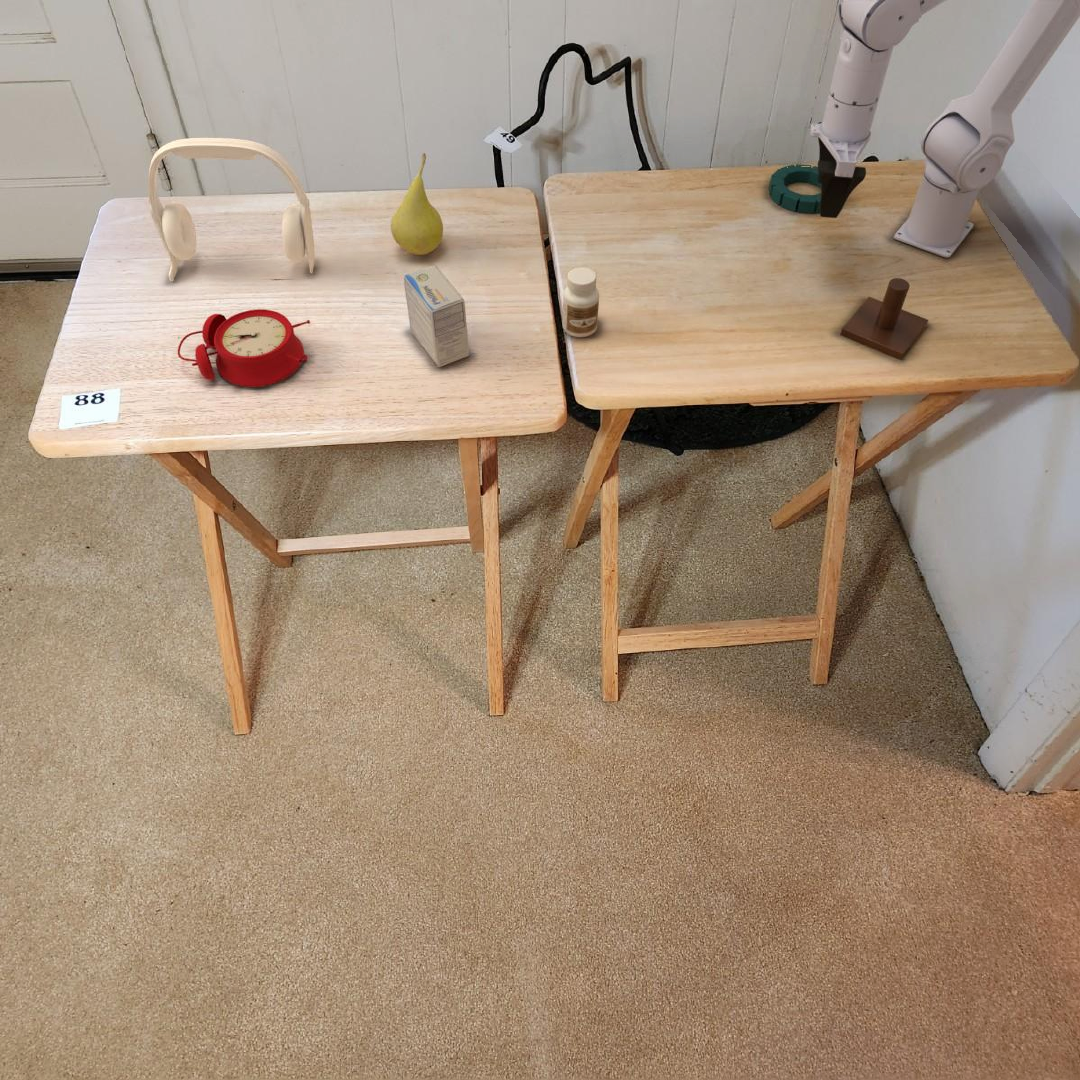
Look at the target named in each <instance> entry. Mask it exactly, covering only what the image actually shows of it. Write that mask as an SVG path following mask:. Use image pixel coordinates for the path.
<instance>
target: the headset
mask: <svg viewBox="0 0 1080 1080" xmlns="http://www.w3.org/2000/svg"><path fill="white" fill-rule="evenodd" d="M170 154H174V155H175V156H177V157H179V158H182V159H201V160H203V159H205V160H207V159H209V160H210V159H211V160H212V159H215V160H235V161H237V160H239V161H250V160H254V159H256V158H257V156H258V155H259V156H260V157H262V158H265V159H266V160H268V161H269V162H271V163H272V164H273V165H274V166H275V167H276V168H277V169H278V170H279V171H280V172H281V173H282V175H283V176H284V177H285V179H286V180H287V182H288V183H289V185H290V187H291V188H292V190H293V192H294V194H295V197H296V198H297V200H298V202H299V205H298V204H296V203H291V204H288V205H287V206H286V207H285V209H284V211H283V215H282V223H281V235H282V236H281V237H282V238H281V239H282V246H283V247H282V248H283V252H284V254H285V257H286V258H287V260H288V261H290V262H291V263H295V264H296V263H300V262H302V261H303V260H304V258H305V256H306V258H307V261H308V265H309V267H308V268H309V273H310V274H313V273H314V266H315V258H316V250H315V241H314V231H313V223H312V222H313V221H312V212H311V207H310V206H311V205H310V200H309V198H308V196H307V194H306V192H305V189H304V187H303V186H302V183H301V181H300V180H299V178H298V176H297V174H296V173H295V171H294V169H293V168H292V167H291V165H290V164H289V163H288V162H287V160H286V159H285V158H284V157H283V156H282V155H281V154H280V153H279V152H277V151H276V150H274V149H273V148H271V147H269V146H267V145H265V144H263V143H260V142H257V141H252V140H247V139H241V138H226V137H190V138H181V139H176V140H173V141H170V142H168V143H166V144H164V145H162V146H161V147H160V148H159V149H157V150H156V152H155V153H154V155H153V157H152V158H151V162H150V165H149V170H148V182H147V183H148V187H147V188H148V189H147V190H148V204H149V212H150V216H151V218H152V221H153V223H154V225H155V229H156V231H157V233H158V235H159V238H160V240H161V243H162V245H163V247H164V249H165V252H166V254H167V257H168V260H169V264H170V265H169V266H170V268H169V271H168V279H169V281H170V282H174V281H175V277H176V275H177V271H178V268H179V263H180V261H188V260H190V259H192V258H193V257H194V255H195V254H196V250H197V232H196V228H195V227H196V226H195V223H194V220H193V217H192V215H191V213H190V211H189V210H188V208H187V207H186V206H185V205H184V204H183V203H181V202H179V201H170V202H168V203H167V204H165V206H164V205H163V203H162V201H161V199H160V197H159V196H158V186H157V185H158V182H157V180H158V172H159V171H158V170H159V167H160V163H161V162H162V160H163V159H164V158H165V157H167V156H168V155H170Z"/></svg>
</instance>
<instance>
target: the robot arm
mask: <svg viewBox="0 0 1080 1080" xmlns="http://www.w3.org/2000/svg"><path fill="white" fill-rule="evenodd" d="M946 1H947V0H842V1H841V2H839V3H838V4H837V8H836V9H837V10H836V14H837V19H838V21H839V23H840V26H841V32H840V35H839V40H840V45H839V50H838V54H837V58H836V63H835V65H834V66H835V67H834V70H833V75H832V80H831V83H830V87H829V88H830V89H829V92H828V96H827V102H826V105H825V108H824V109H825V110H824V113H823V118H822V121H820V122H819V121H818V122H817V123H812V124H811V125H810V129H809V134H810V137H813V138H817V140H818V146H819V147H818V148H819V149H818V150H819V152H818V153H819V155H818V162H817V167H818V180H819V183H821V188H820V193H821V197H820V212H819V215H820V218H828V219H829V218H831V219H837V218H838V217H839V215H840V213H841V211H842V210H843V208H844V206H845V204H846V202H847V200H848V199H849V197H850V195H852V193H853V191H854V190H855V189H856V188H857V186H859V185H860V184H862V182H863V181H864V180H865V178H866V176H867V170H866V169H867V168H866V167H864V166H857V160H858V159H859V157H860V156H861V154H862V153H863V151H864V150H865V148H866V147H867V145H868V143H869V141H870V139H871V135H872V131H871V128H872V125H873V122H874V119H875V115H876V111H877V108H878V105H879V101H880V96H881V94H882V89H883V86H884V82H885V80H886V79H885V78H886V75H887V71H888V68H889V64H890V61H891V57H892V53H893V50H894V47H895V46H898V45H899V44H900V43H902V42H903V40H904V39H905V38H906V36H907V35H908V34H909V32H910V31H911V29H912V27H913V26H914V25H915V24H917V23H919V20H920V19H922V17H923V15H925V14H927V13H928V12H929V11H931V10H933V9H935V8H936V7H938V6H939V5H941V4H943V3H945V2H946ZM1079 19H1080V0H1033V1H1032V2H1031V4H1030V5H1029V7H1028V9H1027V10H1026V11H1025V13H1024V14H1023V16H1022V17H1021V20H1020V21H1018V24H1017V26H1016V27H1015V28H1014V30H1013V32H1011V34H1010V36H1009V37H1008V39H1007V40H1006V42H1005V44H1004V45H1003V46H1002V48H1001V50H1000V51H999V53H998V54H997V56H996V57H995V58H994V60H993V61H992V63H991V65H990V66H989V68H988V69H987V71H986V72H985V74H984V75H983V77H982V78H981V80H980V82H978V85H977V86H976V87H975V88H974V91H973V92H971V93H970V94H967V95H964V96H963V95H962V96H961V97H957V98H954V99H952V100H950V102H949V103H948V104H947V106H946V108H945V109H944V110H943V111H942V113H941V114H940V115H938V116H937V117H936V118H935V119H933V121H932V122H931V123H930V124H929V125H928V127H927V128H926V129H925V131H924V132H923V135H922V137H921V142H920V149H921V152H922V154H923V156H925V159H924V161H923V164H922V165H923V166H924V171H923V175H922V178H921V180H920V184H919V187H918V189H917V192H916V194H915V198H914V201H913V204H912V207H911V210H910V213H909V216H908V218H907V219H906V220H905V221H904V223H903V224H902V225H901V226H900V228H899V229H898V230H897V231H896V232H895V233H894V235H893V239H894V240H896V241H899V242H902V243H905V244H907V245H910V246H912V247H915V248H918V249H920V250H924V251H926V252H930V253H932V254H934V255H937V256H940V257H943V258H945V259H947V258H948V259H949V258H950V257H951V256H952V255H953V254H954V252H955V251H956V250H957V249H958V248H959V246H960V245H961V244H962V242H964V240H965V238H966V237H967V236H968V234H969V233H970V232H971V230H972V229H973V228H974V223H973V222H972V221H969V218H970V217H971V216H970V215H971V213H972V211H973V208H974V206H975V203H976V200H977V198H978V195H979V193H980V190H982V189H984V187H985V186H987V185H988V184H990V183H991V182H992V181H993V180H994V179H995V178H996V177H997V175H998V174H999V172H1000V171H1001V169H1002V167H1003V165H1004V161H1005V159H1006V157H1007V156H1006V155H1007V154H1008V151H1009V150H1010V149H1011V147H1012V146H1013V144H1014V143H1015V133H1014V124H1013V119H1012V117H1013V116H1012V114H1013V113H1014V111H1016V109H1017V107H1018V106H1019V105H1020V103H1021V101H1022V100H1023V99H1024V98H1025V96H1026V95H1027V93H1028V92H1029V90H1030V89H1031V88H1032V86H1033V84H1034V83H1035V81H1036V80H1037V79H1038V78H1039V76H1040V75H1041V73H1042V71H1043V70H1044V69H1045V68H1046V66H1047V65H1048V63H1049V61H1050V60H1051V59H1052V57H1053V56H1054V54H1055V53H1056V51H1057V50H1058V49H1059V47H1060V45H1061V44H1062V43H1063V41H1064V40H1065V38H1066V37H1067V35H1069V33H1070V32H1071V30H1072V29H1073V27H1074V26H1075V24H1076V23H1077V22H1078V20H1079Z"/></svg>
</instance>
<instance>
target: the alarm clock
mask: <svg viewBox="0 0 1080 1080" xmlns="http://www.w3.org/2000/svg"><path fill="white" fill-rule="evenodd" d="M306 324H311V320H309V319H307V320H306V321H303V322H299V323H296V324H292V322H291V321H290V320H289V318H287V317H286V316H285V315H284V314H282V313H280V312H278V311H275V310H270V309H262V308H261V309H260V308H258V309H249V310H245V311H241V312H239V313H236V314H233V315H232V316H229V317H228V318H226V316H225V315H224V314H222V313H213V314H211V315H209V316H208V317H207V319H205V321H204V323H203V326H202V329H201V330H198V331H193V332H190V333H188V334H186V335H184V336H183V338H182V339H181V340H180V342H179V345H178V347H177V356H178V358H179V359H181V360H183V361H186V362H193V363H191V366H192V367H196V366H197V368H198V371H199V372H200V374H201V376H202V377H203V378H204V379H205V380H208V381H214V380H216V377H215V373H214V369H213V365H212V363H211V359H210V356H214V355H215V366H216V370H217V372H218V373H219V375H220V376H221V377H222V378H223V379H224V380H226V381H227V382H229V383H231V384H234V385H236V386H240V387H246V388H258V387H266V386H269V385H273V384H276V383H279V382H281V381H283V380H285V379H288V377H290V376H291V375H292V374H294V373H295V372H296V371H297V370H298V369H299V367H300V366H301V364H302V363H303V361H305V362H308V361H307V360H308V355H307V354H305V350H304V346H303V343H302V341H301V340H300V339H299V337H298V336H297V335H295V330H294V329H295V328H298V327H300V326H304V325H306ZM197 334H202V335H201V336H202V339H203V342H204V343H201V344H198V345H196V347H195V350H194V353H195V354H194V355H195V357H194V358H186V357H183V356H182V355H181V347H182V345H183V343H184V342H185V340H186V339H188V338H189V337H191V336H193V335H197ZM208 349H212V350H215V351H212V352H209V353H208Z"/></svg>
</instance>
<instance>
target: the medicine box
mask: <svg viewBox="0 0 1080 1080" xmlns="http://www.w3.org/2000/svg"><path fill="white" fill-rule="evenodd" d="M403 285H404V292H405V293H404V294H405V298H406V306H407V314H408V315H407V316H408V320H409V328H410V333H412V335H413V336H414V337H415V339H416V340H417V341H418V342H419V344H420V345H421V346H422V348H423V349H424V350H425V352H426V353H427V355H429V357H430V358H431V359H432V361H433V362H434V363H435V365H436V366H437V368H441V367H443V366H446V365H449V364H451V363H454V362H456V361H459V360H461V359H465V358H467V357H470V347H469V337H468V336H469V335H468V324H467V323H468V322H467V314H466V304H465V303H466V302H465V299H464V298H463V296H461V293H459V292H458V290H457V289H456V288H455V287H454V286H453V285H452V283H451V282H450V281H449V280H448V279H447V278H446V276H445V275H444V274H443V272H442V271H441V270H440V269H439V268H438V266H437V265H432V266H427V267H425V268H421V269H418V270H416V271H415V270H414V271H412V272H410V273H407V274H405V275H403Z"/></svg>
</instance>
